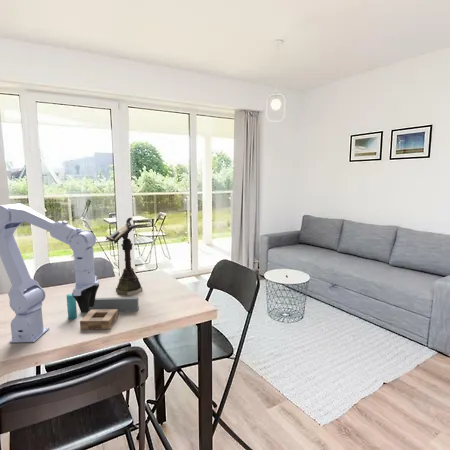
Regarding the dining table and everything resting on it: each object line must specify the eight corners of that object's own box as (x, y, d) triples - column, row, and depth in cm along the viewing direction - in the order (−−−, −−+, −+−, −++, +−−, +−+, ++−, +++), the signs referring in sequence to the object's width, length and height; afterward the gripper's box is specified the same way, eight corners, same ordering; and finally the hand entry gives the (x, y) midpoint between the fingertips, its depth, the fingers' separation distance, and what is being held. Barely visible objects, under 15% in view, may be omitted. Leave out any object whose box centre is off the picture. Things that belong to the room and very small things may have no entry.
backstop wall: (137, 311, 126) (136, 298, 126) (81, 312, 126) (80, 299, 125) (140, 306, 131) (139, 295, 130) (85, 307, 130) (84, 295, 129)
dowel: (74, 319, 119) (73, 296, 118) (66, 319, 119) (64, 296, 118) (78, 316, 122) (76, 293, 121) (70, 316, 122) (68, 293, 121)
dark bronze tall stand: (110, 300, 138) (105, 219, 133) (102, 291, 148) (98, 217, 143) (147, 292, 147) (144, 217, 142) (137, 285, 158) (134, 214, 153)
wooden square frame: (109, 328, 111) (109, 320, 111) (80, 329, 111) (79, 321, 110) (118, 316, 121) (117, 309, 121) (91, 317, 121) (90, 309, 120)
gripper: (88, 275, 96) (91, 318, 98) (105, 263, 110) (107, 300, 112) (64, 275, 96) (68, 319, 97) (84, 263, 110) (86, 301, 112)
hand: (87, 309), depth 105 cm, fingers open, 4 cm apart
